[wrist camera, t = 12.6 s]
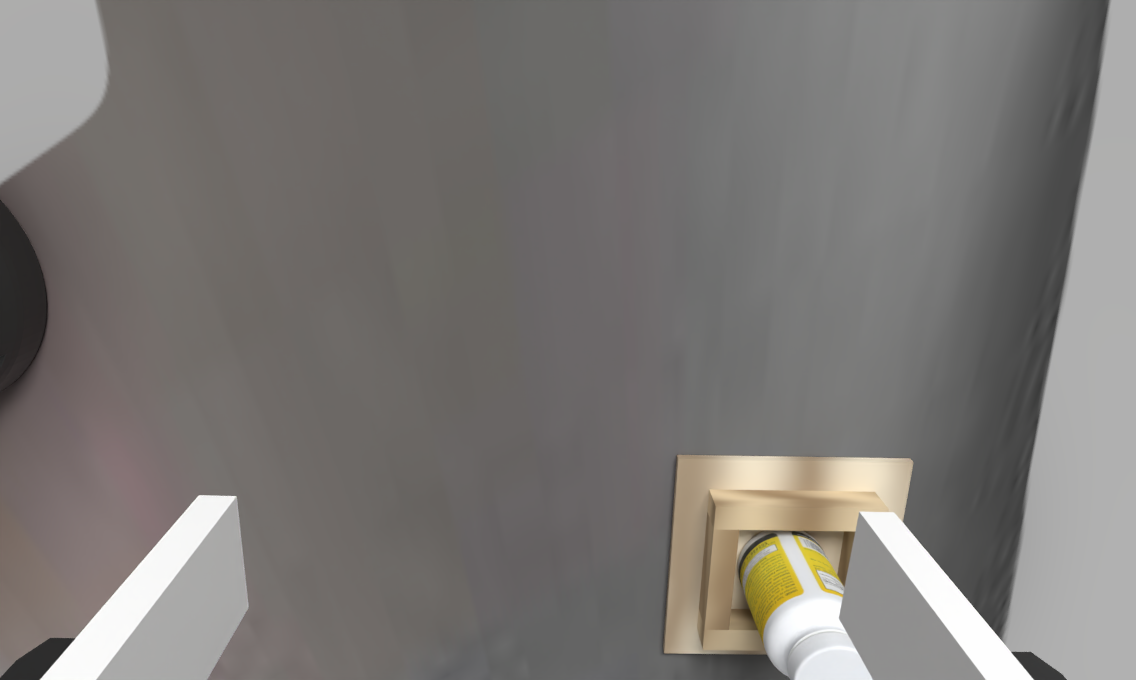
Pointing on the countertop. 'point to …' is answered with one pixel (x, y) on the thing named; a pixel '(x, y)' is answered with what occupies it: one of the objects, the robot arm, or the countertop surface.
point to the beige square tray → (748, 507)
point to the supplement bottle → (798, 607)
